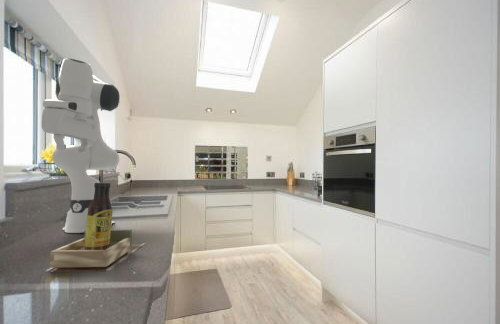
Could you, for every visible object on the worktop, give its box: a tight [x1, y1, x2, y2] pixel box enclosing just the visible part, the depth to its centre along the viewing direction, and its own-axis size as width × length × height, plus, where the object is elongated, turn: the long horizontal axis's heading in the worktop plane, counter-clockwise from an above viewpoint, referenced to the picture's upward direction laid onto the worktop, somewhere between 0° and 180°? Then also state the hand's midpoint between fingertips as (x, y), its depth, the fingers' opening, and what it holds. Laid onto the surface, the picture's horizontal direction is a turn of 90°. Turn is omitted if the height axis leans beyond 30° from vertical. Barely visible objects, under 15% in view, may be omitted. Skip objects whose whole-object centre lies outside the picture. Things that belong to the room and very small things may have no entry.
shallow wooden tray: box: [48, 229, 133, 269], centre depth 65 cm, size 14×14×7 cm
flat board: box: [44, 242, 146, 273], centre depth 69 cm, size 23×16×1 cm
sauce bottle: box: [84, 182, 113, 250], centre depth 66 cm, size 6×6×20 cm
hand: (72, 151), depth 72 cm, fingers open, 8 cm apart
